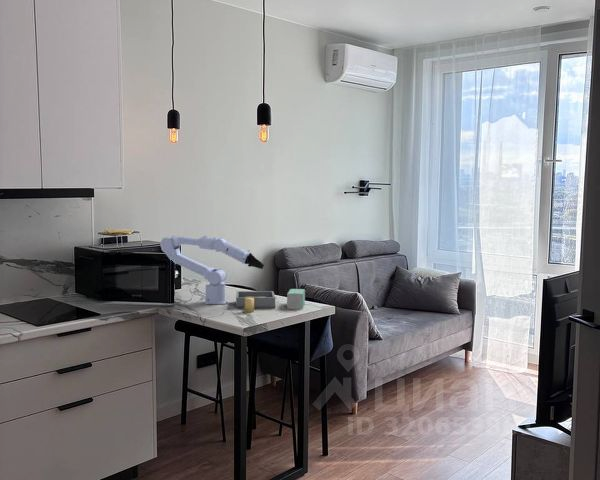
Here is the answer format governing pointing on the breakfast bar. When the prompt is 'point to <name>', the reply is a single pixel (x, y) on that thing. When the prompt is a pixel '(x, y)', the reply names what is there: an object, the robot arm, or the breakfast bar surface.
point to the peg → (249, 305)
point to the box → (295, 299)
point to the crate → (256, 298)
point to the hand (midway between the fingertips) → (262, 266)
